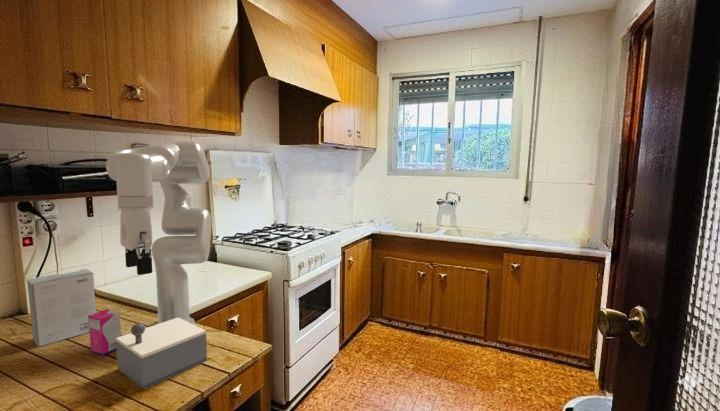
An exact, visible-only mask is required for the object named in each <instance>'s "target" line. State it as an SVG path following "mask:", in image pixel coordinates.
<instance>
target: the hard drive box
mask: <svg viewBox="0 0 720 411" xmlns="http://www.w3.org/2000/svg"><path fill="white" fill-rule="evenodd" d="M26 282H27V291H28V303H29V311H30V319H31V321H30V322H31V328H32V340H33V342H34V344H35V345H36V346H37V348H38V347H39V348H40V347H43V346H46V345H50V344H54V343H58V342H59V341H64V340H66V339H70V338H74V337H78V336H82V335H84V334H88V333H90V332H89V321H88V315H91V314H94V313H97V309H96V308H97V307H96V306H97V305H96V294H95V280H94V273H93V272H92V271H90V270H89V269H87V268H82V269H77V270H72V271H65V272H60V273H59V272H58V273H54V274H50V275H44V276H39V277H38V276H37V277H34V278H28V279H26Z"/></svg>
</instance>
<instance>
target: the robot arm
mask: <svg viewBox="0 0 720 411" xmlns="http://www.w3.org/2000/svg"><path fill="white" fill-rule="evenodd" d="M105 164H106V165H105V169H106V173H107V175H108V177H109V178H110V179H111V180H113V181H115V182H116V196H117V197H116V198H117V209H118V210H119V211H120V218H119V220H120V221H119V222H120V223H119V224H120V226H119V227H120V230H119V232H120V237H119V241H120V242H119V243H120V246H121V247H123V248H124V251H125V252H124V253H125V254H124V256H125V267H126V268H132V267H136V274H137V275H138V276H142V275H147V274H148V275H149V274H152V273H153V264H154V268H155V276H156V277H155V278H156V279H155V281H156V295H157V296H156V298H157V300H156V301H157V314H156V317H157V320H158V322H156V323H155V324H154V325H157V324H160V323H163V322H166V321H169V320H172V319H175V318H178V317H179V318H181V319H183V320H185V321H187V322H189V323H191V324H193V325H196V324H195V322H196V321H195V319H194V318H192V317H190V299H189V298H190V295H189V293H190V292H189V290H190V289H189V276H188V272H187V270H185V269H184V267H183V266H182V265H192V264H193V265H194V264H203V263H206V262H207V261H208V259H209V257H210V250H211V249H210V248H211V236H212V216H211V212H210V211H209V210H208V209H206V208H203V207H192V206H191V205H192V197H191V195H190V194H189V193H188V192H187V191H186V189H184V188H183V186H181V185H180V184H186V185H194V184H195V185H197V184H198V185H199V184H201V185H202V184H205V183H207V182H208V181H209V179H210V176H211V173H210V172H211V171H210V166H209V163H208V160H207V157H206V154H205V152H204V149H203V147H202V146H201V144H199V143H198V142H196V141H178V140H176V141H175V140H167V141H163V142H160V143H157V144H155V145H149V146H142V147H137V148H126V149H122V150H118V151H115V152H113V153H111V154H110V155H109V156H108V158H107V160H106V163H105ZM157 182H159V184H160V188H161V190H162V192H163V195H164V203H163V204H164V205H163V210H162V217H161V230H162V232H163V233H164V234H166V236H162V237H159V238H157V239H156V240H154V241H153V229H152V217H151V211H150V210H152V209H154V198H153V197H154V196H153V192H154V191H153V183H157ZM167 235H168V236H167Z"/></svg>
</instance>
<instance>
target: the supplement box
mask: <svg viewBox="0 0 720 411" xmlns="http://www.w3.org/2000/svg"><path fill="white" fill-rule="evenodd" d="M120 318H121V317H120V311H119V310H114V309H110V308H106V309H103V310H100V311H96V313H94V314H91V315H88V321H89V332H88V333H89V342H90V352H91V353H94V354H97V355H100V356H102V357H103V356H106V355H108V354H110V353H112V352H115V351H117V347H116V338H118V337H121V336H122V329H121V319H120Z"/></svg>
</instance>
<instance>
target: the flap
mask: <svg viewBox="0 0 720 411" xmlns="http://www.w3.org/2000/svg"><path fill="white" fill-rule="evenodd" d="M203 334H206V335H207V330H206V329H204V328H201V327H199V326H197V325H196V324H194V325H193V324H191V323H189V322H187V321H185V320H183V319H181V318H179V317H178V318H175V319H172V320H169V321H166V322H163V323H160V324H157V325H155V324H154V325H151V326H148V327H146V326H145V324H143V323H141V322H137V323H135V324H133V325H132V326H131V328H130V332H129V333H127V334H124V335H121V337H118V338H116V341H117V342H119V343H120V344H121V345H123V346H124V347H126V348H127V349H129V350H130V351H132V352H133V353H135V354H136V355H138V356H139V357H141V358H145V357H147V356H150V355H152V354H155V353H157V352H160V351H162V350H165V349H168V348H170V347H173V346H175V345H178V344H180V343H183V342H185V341H188V340H190V339H193V338H196V337H198V336H201V335H203Z"/></svg>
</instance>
